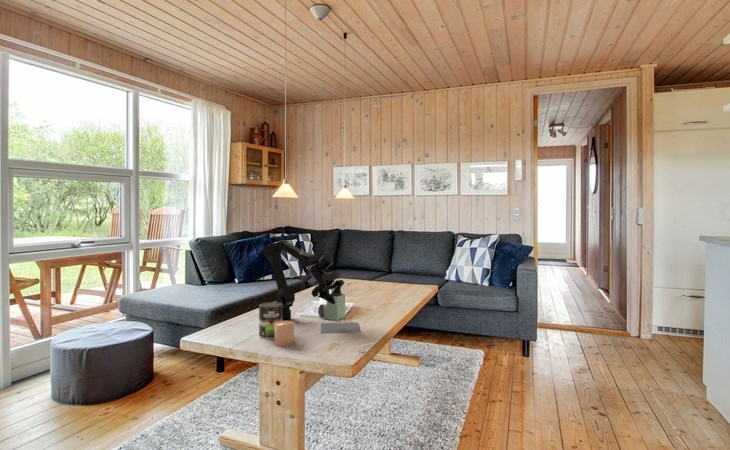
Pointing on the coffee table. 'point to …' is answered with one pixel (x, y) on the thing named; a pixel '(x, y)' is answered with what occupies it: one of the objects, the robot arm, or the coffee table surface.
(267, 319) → the coffee can
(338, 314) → the tin
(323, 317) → the ceramic mug
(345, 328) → the mat
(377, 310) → the coffee table surface
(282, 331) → the pink rounded cylinder
